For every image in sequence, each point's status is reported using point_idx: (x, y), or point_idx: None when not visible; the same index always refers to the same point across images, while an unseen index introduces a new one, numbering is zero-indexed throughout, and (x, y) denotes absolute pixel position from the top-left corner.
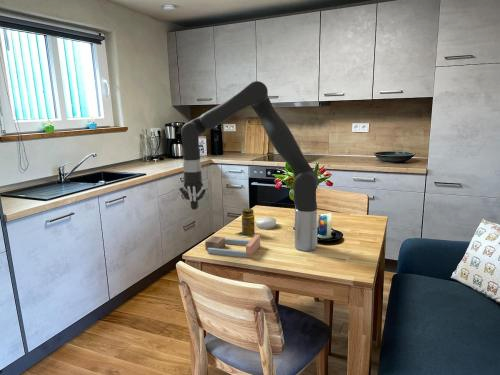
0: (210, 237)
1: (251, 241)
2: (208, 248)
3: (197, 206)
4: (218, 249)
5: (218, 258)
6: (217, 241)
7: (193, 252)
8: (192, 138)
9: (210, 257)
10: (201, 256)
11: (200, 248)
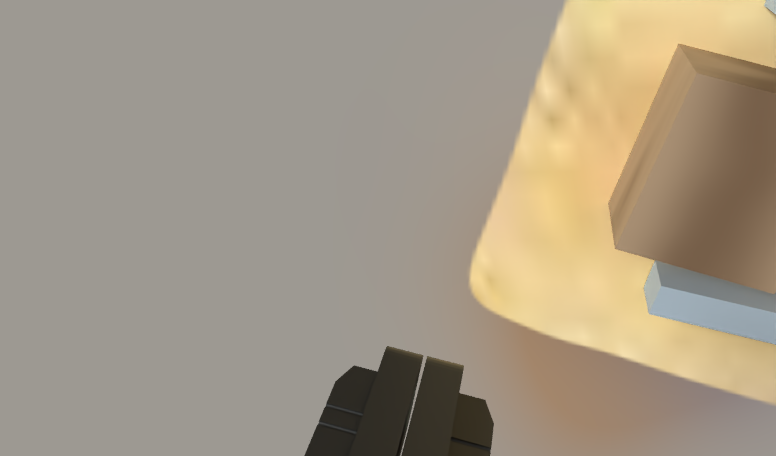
0: (672, 129)
1: None
2: (657, 305)
3: (480, 444)
4: (769, 331)
5: (754, 382)
6: (773, 254)
7: (502, 263)
8: None
9: (677, 361)
10: (592, 340)
11: (550, 175)
